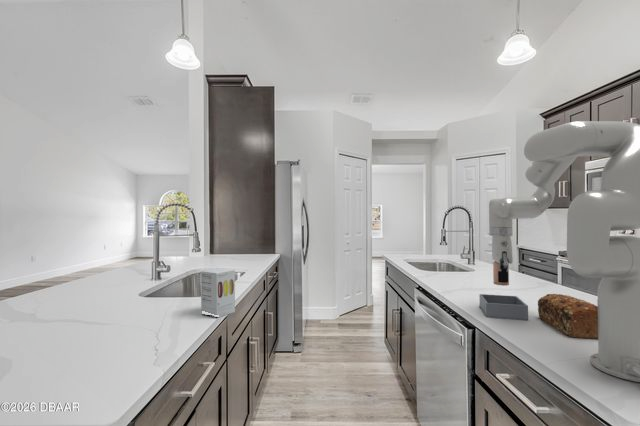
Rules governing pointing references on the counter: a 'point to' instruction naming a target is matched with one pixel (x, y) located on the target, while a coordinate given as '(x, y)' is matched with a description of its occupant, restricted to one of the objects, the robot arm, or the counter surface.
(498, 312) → the bin
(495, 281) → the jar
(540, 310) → the bread
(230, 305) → the supplement box
